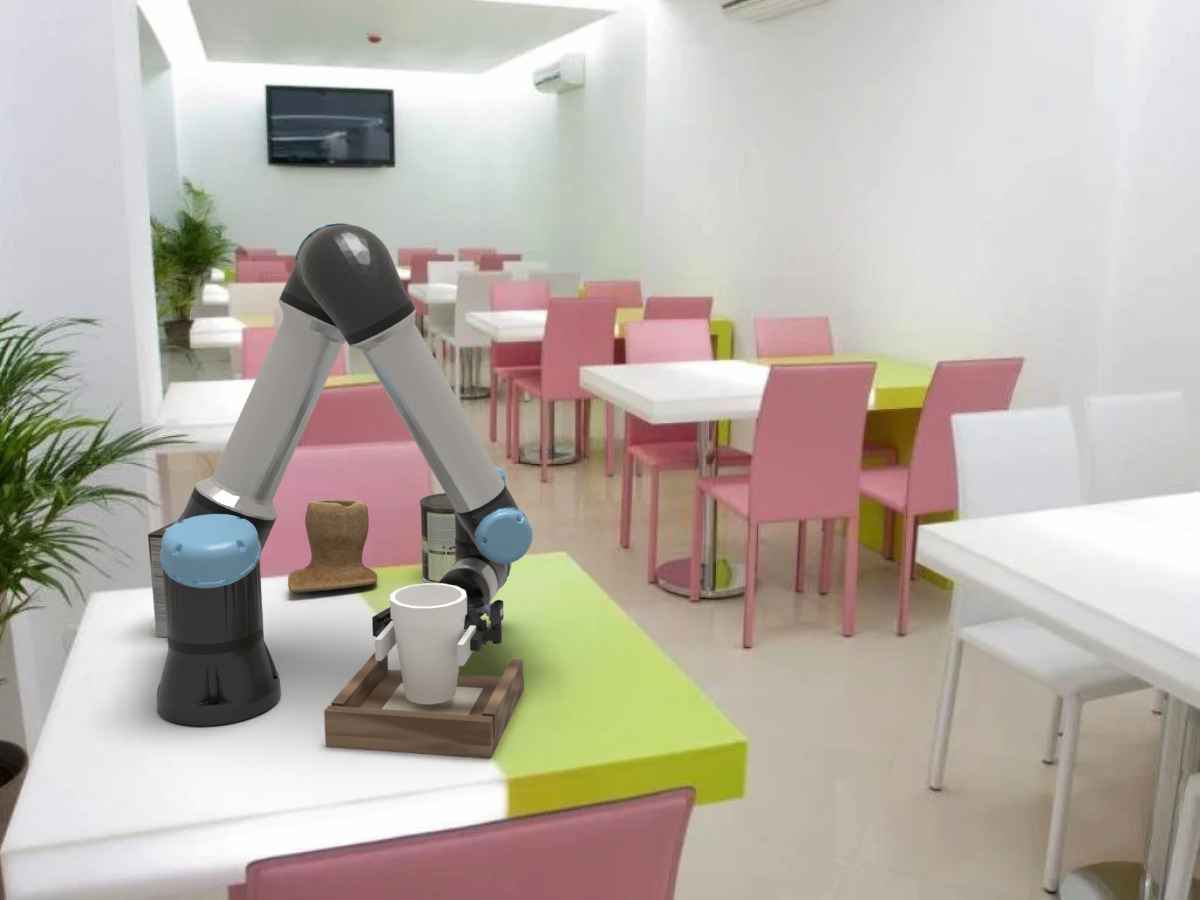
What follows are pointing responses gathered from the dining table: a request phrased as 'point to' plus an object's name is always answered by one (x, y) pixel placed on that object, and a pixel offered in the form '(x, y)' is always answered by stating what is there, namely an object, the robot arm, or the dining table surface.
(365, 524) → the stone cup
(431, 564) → the coffee can
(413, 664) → the foam cup
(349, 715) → the tray
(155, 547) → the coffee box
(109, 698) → the dining table surface
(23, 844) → the dining table surface
